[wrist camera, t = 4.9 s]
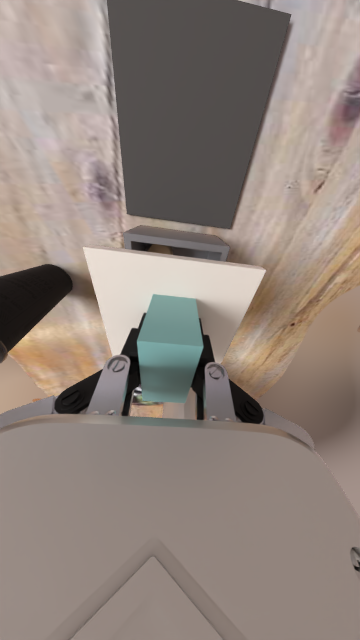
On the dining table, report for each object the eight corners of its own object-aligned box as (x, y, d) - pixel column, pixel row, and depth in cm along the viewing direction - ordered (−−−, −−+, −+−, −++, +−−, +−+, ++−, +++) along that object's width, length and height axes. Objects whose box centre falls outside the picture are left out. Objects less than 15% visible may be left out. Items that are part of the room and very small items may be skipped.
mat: (229, 228, 18) (229, 228, 18) (127, 213, 18) (126, 214, 17) (287, 20, 10) (291, 14, 10) (106, -27, 9) (103, -35, 9)
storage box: (200, 299, 25) (205, 325, 20) (143, 293, 24) (133, 318, 19) (215, 235, 19) (230, 246, 13) (140, 225, 18) (123, 232, 13)
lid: (214, 357, 17) (228, 418, 12) (120, 349, 16) (92, 411, 11) (254, 262, 10) (324, 310, 5) (97, 241, 9) (3, 274, 4)
